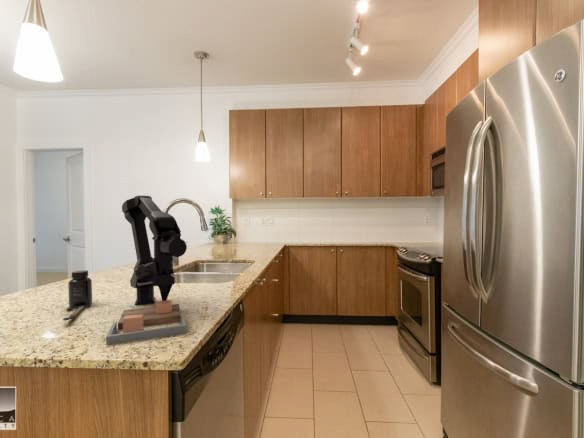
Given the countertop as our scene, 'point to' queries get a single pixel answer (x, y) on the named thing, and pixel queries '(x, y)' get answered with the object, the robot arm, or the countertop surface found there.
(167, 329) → the tray
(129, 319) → the tile
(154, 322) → the walnut board
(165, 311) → the block
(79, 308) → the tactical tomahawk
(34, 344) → the countertop surface
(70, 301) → the supplement bottle
